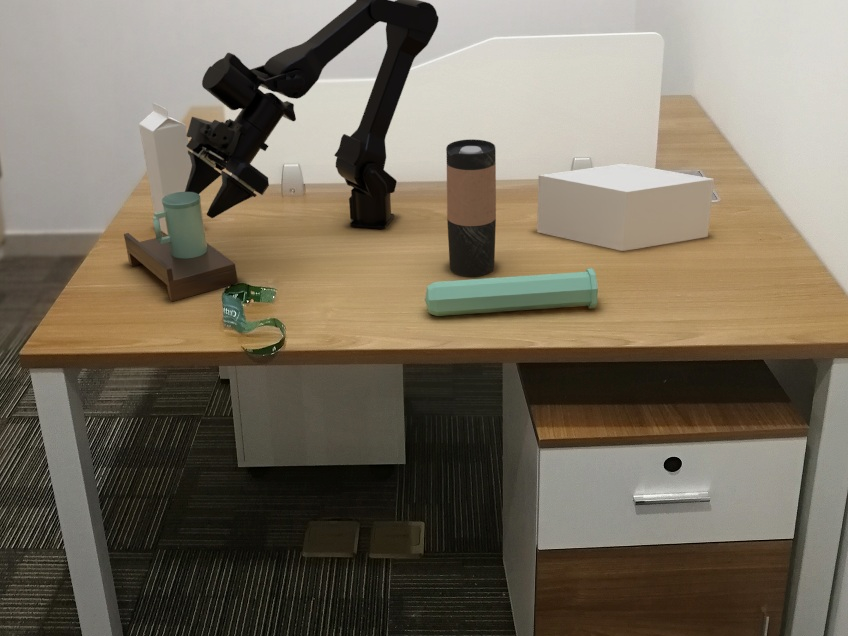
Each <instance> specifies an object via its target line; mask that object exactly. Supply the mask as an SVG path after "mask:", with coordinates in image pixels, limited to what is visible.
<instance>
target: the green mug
mask: <svg viewBox="0 0 848 636" xmlns="http://www.w3.org/2000/svg"><path fill="white" fill-rule="evenodd" d="M201 201H202V200H201V195H200V194H197V193H194V192H177V193H172V194H169V195H167V196H165V197H163V198H162V205H163V210H164V211H161V212H157V213H154V212H153V217H152V222H153V227H154V235H155V238H156V239H157V241H159V243H160V244H164V243H168V242H169V246H170V252H171V255H172V256H173V257H176V258H182V259H187V258H195V257H198V256H201V255H203V254H205V253H206V252H207V250H208V248H207V243H208V242H207V236H206V229H205V222H204V216H203V208H202V202H201ZM164 217H165V222H166V228H167V234H168V236H166V235H165V236H166V237H162V236H163V234H162V231H161V228H160V222H159V218H164Z"/></svg>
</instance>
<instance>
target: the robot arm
mask: <svg viewBox="0 0 848 636" xmlns="http://www.w3.org/2000/svg"><path fill="white" fill-rule="evenodd" d="M378 23H385V24H386V25H385V37H386V49H385V53H384V55H383V58H382V61H381V64H380V67H379V70H378V72H377V74H376V78H375V81H374V83H373V86H372V89H371V92H370V94H369V97H368V100H367V103H366V106H365V108H364V111H363V113H362V116H361V119H360V122H359V126H358V127H357V129H356V130H355V131H354V132H352V134H351V135H348V134H346V133H344V134H342V136H341V138H340V142H339V147H338V149H337V151H336V152H335V153H334V154H333V156H334V157H336V158H335V168H336V170H337V173H338V175H339V176H340V177H341V178H343V179H344V181H345V183H346V185H347V186H349V187H351V188H352V189H351V190H350V194H351V195H350V197H349V198H348V202H349V218H350V220H351V222H349V226H350V227H354V228H366V229H367V228H368V229H379V230H385V229H386V228H387V227H388V225H389V224H390V223H391V222H392V221H393V219H394V218H395V213H392V203H391V200H392V199H391V194H393V193H395V190H396V187H397V183H398V181H397V179H396V178H394V177H393V176H392V175H391V174H389V173H388V172H387V171H386V170H385V166H386V161H387V149H386V137H387V135H388V132H389V129H390V126H391V124H392V122H393V121H392V120H393V118H394V114H395V113H396V110H397V108H398V107H397V106H398V104H399V102H400V99H401V96H402V93H403V90H404V87H405V85H406V82H407V80H408V76H409V74H410V71H411V69H412V66H413V63H414V60H415V59H416V57H417V56H418V55H419V54H420V53H421V52H422V51H424V49H425V48H426V47H428V45H429V43H430V41H431V40H432V38H433V36H434V34H435V32H436V30H437V28H438V25H439V15H438V13H437V10H436V7H434V5H433V4H432V3H431V2H427V1H423V0H355V1H354V2H353V3H351V5H349V6H347V8H345V10H343V11H342V12H341V13H340V14H338V15H337V16H336V17H334V18H333V19H332V20H331V21H329V22H327V24H326V25H325V26H323V27H322V28H321V29H320V30H319V31H317V32H316V33H314V34H313V35H312V36H311V37H309V39H307V40H306V41H304V42H303V43H301V44H298V45H295V46H291V47H289V48H286V49H284V50H282V51H280V52H278V53H277V54H275V55H273V56H271V57H270V58H269V59H268V60H267V61H266V62H265V63H264V64H262V65H260V66H259V65H258V66H256V67H253V68H251V69H250V68H249V67H247V65H245V64H244V63H243V62H242V60H241V59H240V58H239V57H238V56H237V55H236V54H234V53H232V52H226V54H225V55H224V56H223V58H220V59H219V60H217V61H216V62H214V63H213V64H212V65H210V66H209V67H207V69H206V71H205V72H204V75H203V77H202V80H201V85H202V88H203V89H204V90H205V91H207V92H208V93H209V94H211V95H212V96H213V97H214V98H215V99H217V100H218V101H219V102H221V103H222V104H223V105H224V106H225V107H226V108H228V109H229V110H231V111H237V110H239V109H240V110H241V111H239V113H238V115H237V116H236V117H235V119H234V120H233V119H231V118H229V119H226V120H225V121H224V122H223V121H219V120H217V119H214V120H212V121H208V120H206V119H202V118H199V117H196V116H191V118H190V122H189V125H188V129H187V137H188V138H190V140H188V144H187V146H186V147H188V148H189V150H190V151H188V154H189V156H190V159H191V163H192V168H191V172H190V176H189V179H188V183H187V186H186V189H185V192H194V193H197V194H199V195H200V194H201V193H202V192H204V190H206V189H207V188H208V187H209V186H210V185H211V184H213V183H214V182H215V181H216V180H218V179H219V178H220V177H221V183H222V184H221V185H220V187H219V189H218V191H217V193H216V195H215V197H214V199H213V200H212V202H211V204H210V206H209V208H208V210H207V212H206V216H207V217H209V218H211V219H214V218H215V217H218V216H219V215H221V214H223V213H225V212H226V211H228V210H230V209H231V208H233V207H235V206H237V205H239V204H241V203H243V202H245V201H247V200H249V199H250V198H256V197H257V196H258V195H257V194H259V195H261V196H264V194H265V192H266V191H267V189H268V188H269V187H270V182H269V177H268V176H267V175H266V174H264V173H263V172H261V171H260V170H258V168H256V167H255V166H254V165H252V162H253V161H254V159H256V158H255V157H256V156H257V155H258V153H259V152H260V150H261V151H263V152H266V151H267V149H268V148H269V145H268V144H267V143H266V141H267V140H268V139H269V137H270V136H271V134H272V132H273V131H274V130H275V128H276V127H277V125H279V123H280V121H281V119H283V118H285V119H287V120H288V121H291V122H295V121H296V120H297V118H296V112H295V104H294V103H293V102H291V101H288V100H286V101H283V100H281V99H280V97H278V96H277V95H276V94H274V93H278V94H280V95H282V96H283V97H286V98H289V99H295V100H296V99H300V98H302V97H304V96H305V95H306V94H307V93H308V92H309V91H310V90H311V89H312V88H313V86H315V85H316V83H317V82H318V81H319V79H320V77H321V74H322V72H323V70H324V69H325V67H327V65H328V64H329V63H330V62H331V61H333V60H334V59H335V58H336V57H337V56H339V55H340V54H341V53H342V52H343V51H345V50H346V49H347V48H348V47H349V46H351V45H352V44H353V43H355V42H356V41H357V40H358V39H359V38H361V37H362V36H363V35H364V34H366V33H367V32H368V31H370V29H372V28H373V27H374V26H375V25H376V24H378ZM259 87H262V88H264V89H265V90H268V91H270V92H266V93H264V91H262V90H261V89H259ZM191 151H192V152H191ZM218 170H219V171H218ZM224 170H226V171H227V172H229V173H230V174H231V175H230V174H229V173H227V172H225V171H224ZM220 171H221V172H220ZM255 192H256V193H255Z"/></svg>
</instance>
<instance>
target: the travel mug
mask: <svg viewBox="0 0 848 636" xmlns="http://www.w3.org/2000/svg"><path fill="white" fill-rule="evenodd" d="M445 151H446V221H447V240H448V257H449V268H450V271H451V272H452V273H453V274H455V275H457V276H460V277H467V278H475V277H483V276H486V275H489V274H490V273H492V272H493V270H494V268H495V255H496V254H495V253H496V229H497V225H496V224H497V194H496V193H497V183H496V182H497V177H496V176H497V175H496V173H497V172H496V171H497V169H496V164H497V162H496V160H497V159H496V154H497V153H496V152H497V151H496V145H495V144H494V143H493V142H492V141H489V140H485V139H484V140H483V139H473V138H472V139H470V138H469V139H461V140H456V141H452V142H450V143H449V144H447V146H446V148H445Z"/></svg>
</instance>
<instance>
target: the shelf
mask: <svg viewBox="0 0 848 636" xmlns="http://www.w3.org/2000/svg"><path fill="white" fill-rule="evenodd" d="M166 236H168V235H166V234H165V235H162V237H166ZM123 237H124V243H125V248H126V253H127V259H128V264H129V265H130V266H131V267H135V266H140V265H143V266H144V267H146V269H148V270H149V271H150V272H151V273H153V275H155V276H156V277H157V278H158V279H159V280H160V281H162V282H163V283H164V284H165V285H166V288H167V295H168V299H169V300H170V301H171V302H172V303H173V302H175V301H180V300H182V299H187V298H191V297H194V296H197V295H200V294H204V293H208V292H211V291H215V290H219V289H223V288H225V287H229V286H232V285H236V284H238V283H239V281H238V273H237V267H236V263H235V262H234V261H232V259H230V258H229V257H227V256H226V255H224V254H223V253H221V252H220V251H219V250H217V249H216V248H215V247H213V246H212V245H210V244H209V243H208V242H207V248H208V250H207V252H206V253H205V254H203V255H201V256H198V257H195V258H187V259H182V258H176V257H173V256H172V255H171V252H170V246H169V242H168V243H164V244H160V243H159V241H157V239H156V237H154V238H150V239H146V240H142V241H139V240H138V239H137V238H135V236H133V235H131V234H130V233H129V232H126V233H124V234H123Z"/></svg>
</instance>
